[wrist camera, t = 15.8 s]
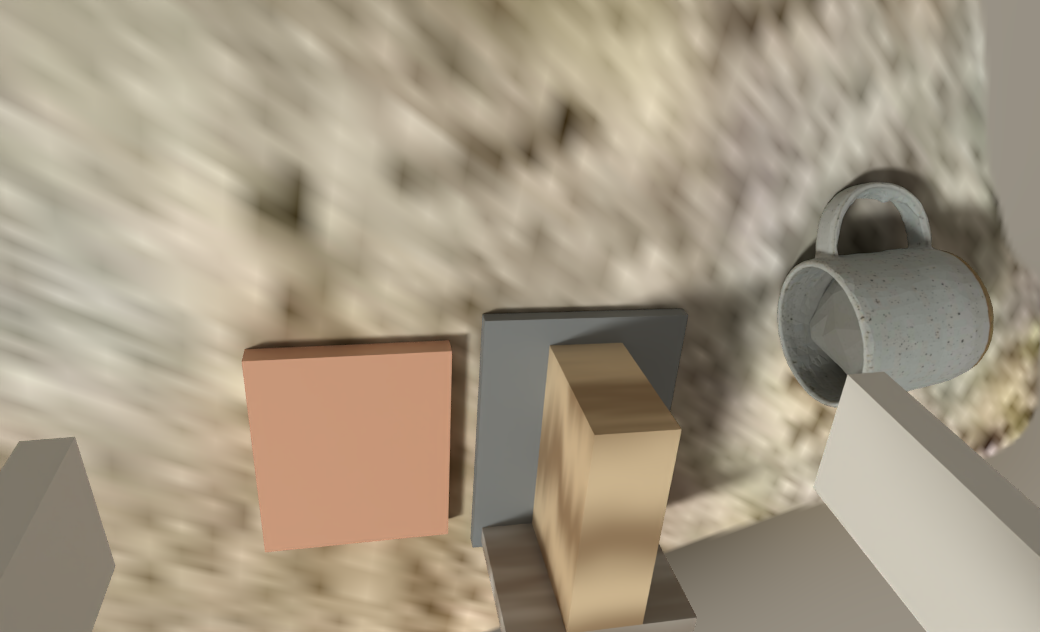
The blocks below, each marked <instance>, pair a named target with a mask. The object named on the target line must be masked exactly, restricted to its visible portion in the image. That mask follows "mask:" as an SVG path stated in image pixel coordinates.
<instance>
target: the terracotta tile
mask: <svg viewBox="0 0 1040 632" xmlns="http://www.w3.org/2000/svg"><path fill="white" fill-rule="evenodd" d="M242 367H243V376H244V384H245V392H246V400H247V408H248V416H249V424H250V432H251V440H252V449H253V457H254V465H255V473H256V481H257V489H258V497H259V505H260V514H261V522H262V530H263V538H264V546H265V552H272V551H282V550H292V549H302V548H312V547H321V546H331V545H341V544H351V543H361V542H371V541H381V540H391V539H400V538H410V537H420V536H430V535H440V534H448V509H449V464H450V420H451V375H452V349H451V345H450V341H449V340H444V341H422V342H399V343H376V344H354V345H331V346H308V347H286V348H263V349H245V351H244V355H243V359H242Z"/></svg>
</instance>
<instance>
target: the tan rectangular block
mask: <svg viewBox="0 0 1040 632" xmlns="http://www.w3.org/2000/svg"><path fill="white" fill-rule="evenodd" d="M681 431H682V429H681V428H680V426H679V425H678V423H677V422H676V420H675V419H674V417H673V416H672V414H671V413H670V411H669V410H668V409H667V407H666V406H665V404H664V403H663V401H662V400H661V398H660V397H659V395H658V394H657V392H656V391H655V390H654V388H653V387H652V385H651V384H650V382H649V381H648V379H647V378H646V376H645V375H644V374H643V372H642V371H641V369H640V368H639V366H638V365H637V363H636V362H635V360H634V359H633V357H632V356H631V355H630V353H629V352H628V350H627V349H626V347H625V346H624V344H623V343H601V344H574V345H550V348H549V358H548V368H547V378H546V388H545V398H544V408H543V418H542V428H541V438H540V448H539V458H538V468H537V478H536V488H535V498H534V508H533V518H532V523H528V524H517V525H506V526H495V527H484V528H482V537H481V542H482V546H483V551H484V555H485V560H486V564H487V569H488V573H489V578H490V582H491V587H492V591H493V596H494V600H495V605H496V609H497V614H498V618H499V623H500V628H501V632H691V631H694V627H695V624H696V619H697V617H696V615H695V613H694V611H693V609H692V607H691V605H690V603H689V601H688V599H687V598H686V595H685V593H684V592H683V590H682V588H681V586H680V584H679V582H678V580H677V578H676V576H675V574H674V572H673V570H672V568H671V566H670V564H669V562H668V561H667V559H666V557H665V555H664V553H663V551H662V549H661V547H660V545H659V540H660V535H661V530H662V525H663V520H664V515H665V510H666V505H667V500H668V495H669V490H670V485H671V480H672V475H673V470H674V465H675V460H676V455H677V450H678V446H679V441H680V436H681Z"/></svg>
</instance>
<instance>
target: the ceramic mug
mask: <svg viewBox="0 0 1040 632" xmlns="http://www.w3.org/2000/svg"><path fill="white" fill-rule="evenodd" d="M857 198H870V199H877V200H878V201H880V202H888V201H891V202H892V203H893V204H894V205H895V206H896V208H897V209H898V210H899V212H900V214H901V216H902V220H903V222H904V223H905V228H906V233H907V240H908V248H907V249H896V250H885V251H882V252H876V253H862V254H850V255H838V251H837V244H838V239H839V233H840V228H841V224H842V220H843V217H844V215H845V213H846V211H847V210H848V208H849V206H850V205H852V203H853V202H854V201H855V199H857ZM931 240H932V237H931V229H930V225H929V220H928V217H927V215H926V212H925V210H924V208H923V206H922V204H921V202H920V201H919V200H918V199H917V198H916V197H915V196H914V195H913V194H912V193H911V192H909V191H908V190H906V189H905V188H904V187H901V186H899V185H895V184H893V183H886V182H870V183H865V184H860V185H856V186H852V187H849V188H846V189H845V190H843V191H841V192H839V193H838V194H837V195H836V196H834V198H833V199H832V200H831V201H830V202H829V204H828V205H827V206H826V207H825V210H824V211H823V213H822V215H821V218H820V221H819V225H818V231H817V238H816V254H815V259H810V260H807V261H803V262H801V263H800V264H798V265H797V266H795V267H794V268H793V269H792V270H791V271H790V273H789V274H788V276H787V277H786V278H785V281H784V283H783V286H782V288H781V292H780V297H779V302H778V312H777V313H778V318H777V319H778V332H779V337H780V340H781V345H782V349H783V352H784V355H785V358H786V361H787V363H788V365H789V367H790V369H791V371H792V373H793V374H794V376H795V378H796V379H797V381H798V382H799V383H800V385H801V386H802V387H803V388H804V390H805V391H806V392H807V393H808V394H809V395H810V396H812V397H813V398H814V399H815V400H817V401H819V402H820V403H822V404H824V405H827V406H831V407H837V408H838V405H839V401H840V398H841V395H842V391H843V388H844V385H845V382H846V378H847V375H849V374H861V373H874V372H885V373H886V374H887V375H889V376H890V377H891V378H892V379H893V380H894V381H895V382H896V383H898V384H899V385H900V386H901V387H902V388H903V389H904V390H906V391H910V390H914V389H918V388H923V387H926V386H930V385H934V384H938V383H942V382H945V381H948V380H951V379H953V378H955V377H957V376H959V375H961V374H963V373H965V372H967V371H968V370H970V369H971V368H973V367H974V366H975V365H977V364H978V362H979V361H980V360H981V359H982V357H983V356H984V354H985V353H986V351H987V350H988V348H989V345H990V342H991V339H992V334H993V319H994V316H993V307H992V303H991V300H990V297H989V294H988V292H987V289H986V288H985V286H984V284H983V282H982V281H981V279H980V277H979V275H978V274H977V273H976V272H975V271H974V270H973V269H972V268H971V267H970V266H969V265H968V264H967V263H966V262H965V261H964V260H963V259H961V258H960V257H958V256H956V255H954V254H952V253H949V252H946V251H942V250H937V249H934V248H933V247H931Z"/></svg>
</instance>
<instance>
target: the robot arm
mask: <svg viewBox="0 0 1040 632" xmlns="http://www.w3.org/2000/svg"><path fill="white" fill-rule="evenodd" d="M813 488H814V490H815V491H816V492H817V493H818V495H819V496H820V497H821V499H822V500H823V501H824V502H825V504H826V505H827V506H828V507H829V509H830V510H831V511H832V512H833V514H834V515H835V516H836V517H837V518H838V520H839V521H840V523H841V524H842V525H843V526H844V528H845V529H846V530H847V531H848V533H849V534H850V535H851V536H852V538H853V539H854V540H855V542H856V543H857V544H858V545H859V547H860V548H861V549H862V550H863V552H864V553H865V554H866V556H867V557H868V558H869V559H870V561H871V562H872V563H873V564H874V566H875V567H876V568H877V570H878V571H879V572H880V573H881V575H882V576H883V577H884V578H885V580H886V581H887V582H888V583H889V585H890V586H891V587H892V589H893V590H894V591H895V592H896V594H897V595H898V596H899V597H900V599H901V600H902V601H903V603H904V604H905V605H906V606H907V608H908V609H909V610H910V611H911V613H912V614H913V615H914V616H915V618H916V619H917V620H918V622H919V623H920V624H921V625H922V627H923V628H924V629H925V630H926V631H927V632H1040V508H1039V507H1037V506H1036V505H1035V504H1034V503H1033V502H1032V501H1031V500H1030V499H1028V498H1027V497H1026V496H1025V495H1024V494H1023V493H1022V492H1020V491H1019V490H1018V489H1017V488H1016V487H1015V486H1014V485H1012V484H1011V483H1010V482H1009V481H1008V480H1007V479H1006V478H1004V477H1003V476H1002V475H1001V474H1000V473H999V472H997V470H995V469H994V468H993V467H992V466H991V465H990V464H989V463H987V462H986V461H985V460H984V459H983V458H982V457H981V456H979V455H978V454H977V453H976V452H975V451H974V450H973V449H972V448H970V447H969V446H968V445H967V444H966V443H965V442H964V441H962V440H961V439H960V438H959V437H958V436H957V435H956V434H954V433H953V432H952V431H951V430H950V429H949V428H948V427H947V426H945V425H944V424H943V423H942V422H941V421H940V420H939V419H937V418H936V417H935V416H934V415H933V414H932V413H931V412H929V411H928V410H927V409H926V408H925V407H924V406H923V405H921V404H920V403H919V402H918V401H917V400H916V399H915V398H914V397H912V396H911V395H910V394H909V393H908V392H907V391H906V390H904V389H903V388H902V387H901V386H900V385H899V384H898V383H896V382H895V381H894V380H893V379H892V378H891V377H890V376H889V375H887V374H886V373H885V372H874V373H861V374H849V375H847V378H846V382H845V385H844V388H843V391H842V395H841V398H840V401H839V405H838V408H837V411H836V414H835V418H834V421H833V424H832V427H831V431H830V434H829V437H828V440H827V444H826V447H825V450H824V454H823V457H822V460H821V463H820V467H819V470H818V473H817V476H816V480H815V483H814V486H813ZM114 568H115V563H114V560H113V557H112V554H111V550H110V547H109V544H108V541H107V538H106V534H105V531H104V528H103V525H102V522H101V518H100V515H99V512H98V509H97V506H96V502H95V499H94V496H93V493H92V490H91V486H90V483H89V480H88V477H87V474H86V470H85V467H84V464H83V461H82V458H81V455H80V451H79V448H78V445H77V442H76V439H75V437H68V438H55V439H43V440H30V441H19V442H18V444H17V446H16V447H15V449H14V450H13V452H12V454H11V455H10V457H9V458H8V460H7V462H6V463H5V465H4V466H3V468H2V470H1V471H0V632H92V629H93V627H94V624H95V621H96V618H97V616H98V613H99V610H100V607H101V604H102V602H103V599H104V596H105V593H106V591H107V588H108V585H109V582H110V580H111V577H112V574H113V571H114Z"/></svg>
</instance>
